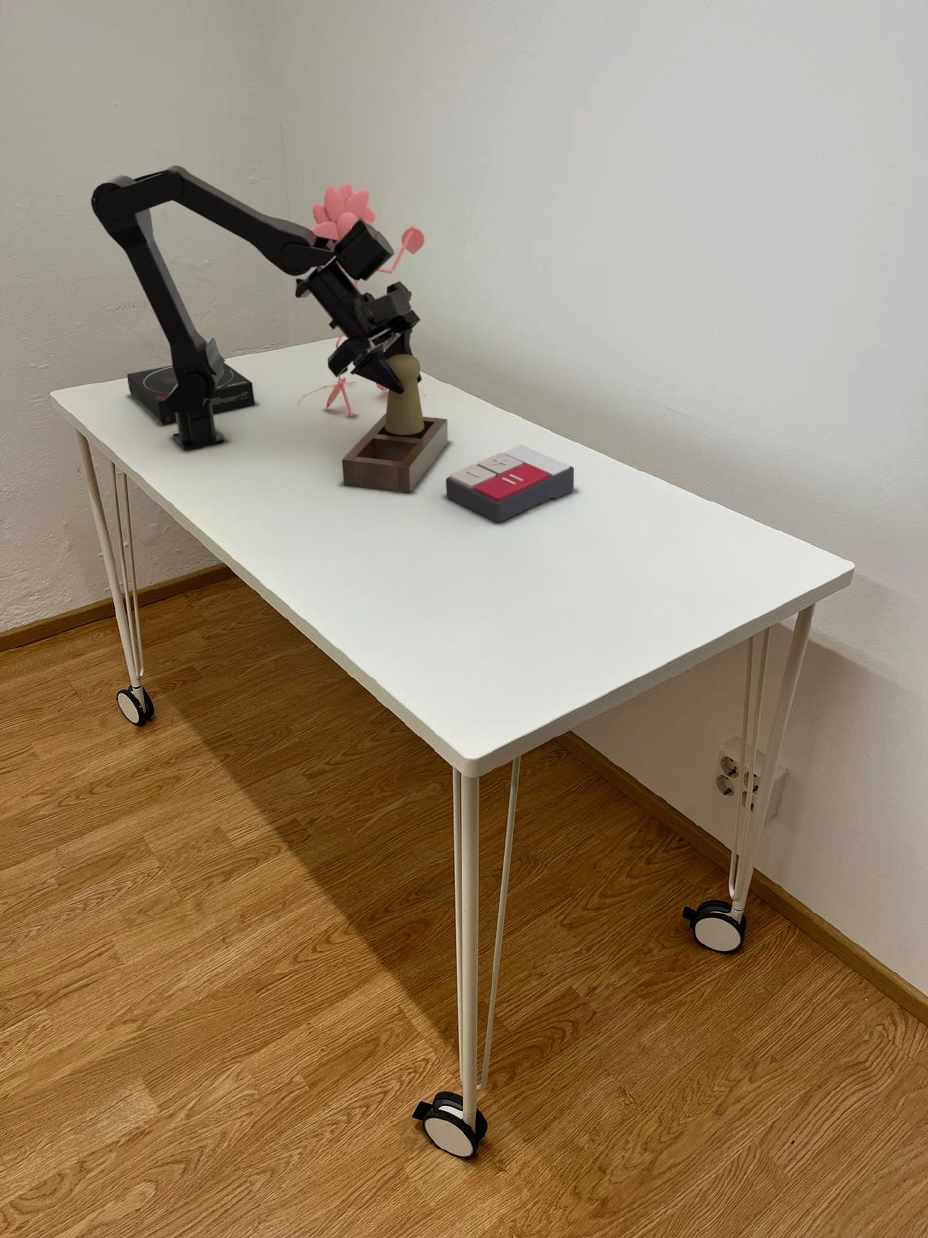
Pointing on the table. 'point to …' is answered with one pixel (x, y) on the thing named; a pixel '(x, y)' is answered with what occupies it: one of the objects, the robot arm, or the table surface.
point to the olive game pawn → (404, 397)
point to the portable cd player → (161, 381)
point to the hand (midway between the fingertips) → (411, 387)
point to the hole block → (394, 456)
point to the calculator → (510, 483)
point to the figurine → (336, 223)
